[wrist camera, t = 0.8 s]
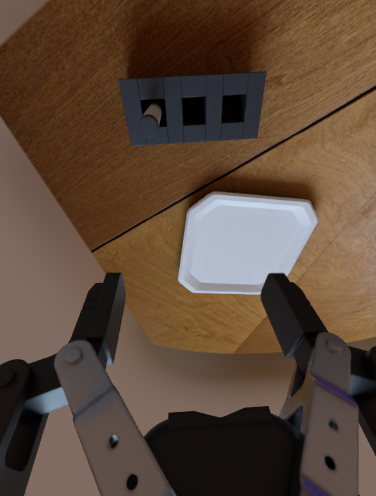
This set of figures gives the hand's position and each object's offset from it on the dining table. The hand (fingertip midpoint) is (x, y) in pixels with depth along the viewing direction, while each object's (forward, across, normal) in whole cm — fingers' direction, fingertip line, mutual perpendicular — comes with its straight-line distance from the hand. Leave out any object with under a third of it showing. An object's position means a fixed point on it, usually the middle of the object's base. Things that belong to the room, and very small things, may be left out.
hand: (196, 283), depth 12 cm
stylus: (+21, +3, -6) cm, 22 cm away
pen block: (+21, -1, -6) cm, 22 cm away
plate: (+22, -11, +13) cm, 28 cm away
